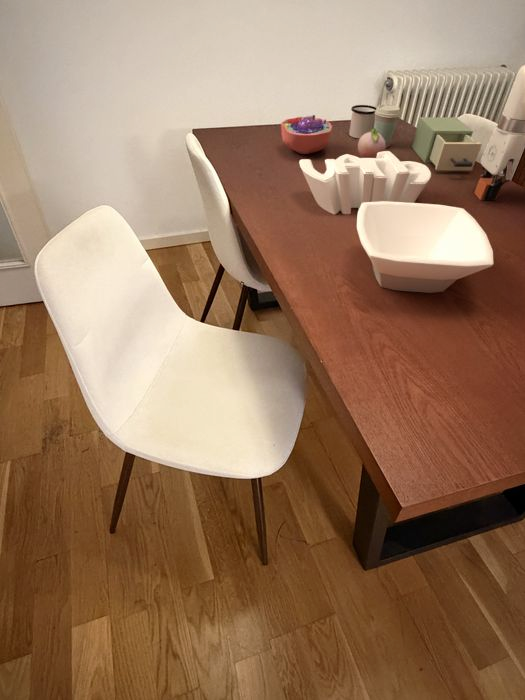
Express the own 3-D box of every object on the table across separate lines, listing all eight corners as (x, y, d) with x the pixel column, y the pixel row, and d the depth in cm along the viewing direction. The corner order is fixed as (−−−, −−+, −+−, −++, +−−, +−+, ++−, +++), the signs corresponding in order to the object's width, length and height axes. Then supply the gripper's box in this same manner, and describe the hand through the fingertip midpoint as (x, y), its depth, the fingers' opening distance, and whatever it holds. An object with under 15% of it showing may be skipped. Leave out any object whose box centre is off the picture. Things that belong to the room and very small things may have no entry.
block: (489, 193, 115) (495, 177, 112) (495, 200, 112) (502, 184, 109) (474, 193, 115) (480, 177, 112) (480, 200, 112) (486, 184, 109)
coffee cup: (378, 139, 147) (386, 102, 139) (397, 146, 143) (406, 108, 134) (363, 144, 143) (370, 106, 135) (382, 151, 139) (390, 112, 130)
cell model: (329, 142, 144) (333, 107, 136) (328, 163, 130) (332, 124, 122) (282, 140, 146) (284, 104, 138) (276, 160, 132) (277, 121, 124)
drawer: (478, 176, 122) (488, 149, 116) (441, 176, 121) (450, 149, 116) (456, 155, 135) (464, 129, 129) (422, 154, 134) (429, 129, 129)
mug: (371, 140, 147) (377, 113, 140) (346, 138, 148) (350, 110, 142) (373, 130, 155) (378, 104, 148) (349, 128, 156) (353, 102, 150)
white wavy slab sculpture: (300, 214, 105) (304, 173, 97) (295, 188, 116) (298, 149, 109) (433, 215, 105) (446, 174, 98) (415, 188, 117) (426, 150, 110)
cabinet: (462, 162, 132) (473, 131, 125) (424, 162, 132) (433, 130, 125) (446, 147, 142) (456, 117, 136) (411, 147, 142) (419, 117, 135)
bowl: (346, 240, 95) (353, 198, 88) (454, 247, 94) (470, 205, 87) (350, 303, 78) (360, 257, 71) (483, 313, 77) (506, 267, 69)
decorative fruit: (352, 157, 135) (358, 124, 128) (376, 156, 135) (383, 124, 128) (358, 167, 128) (364, 133, 121) (383, 167, 128) (391, 133, 121)
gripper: (485, 114, 107) (461, 183, 119) (515, 135, 95) (484, 209, 108) (513, 114, 107) (485, 183, 120) (546, 135, 95) (512, 209, 108)
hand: (485, 194), depth 113 cm, fingers closed on block, 4 cm apart
